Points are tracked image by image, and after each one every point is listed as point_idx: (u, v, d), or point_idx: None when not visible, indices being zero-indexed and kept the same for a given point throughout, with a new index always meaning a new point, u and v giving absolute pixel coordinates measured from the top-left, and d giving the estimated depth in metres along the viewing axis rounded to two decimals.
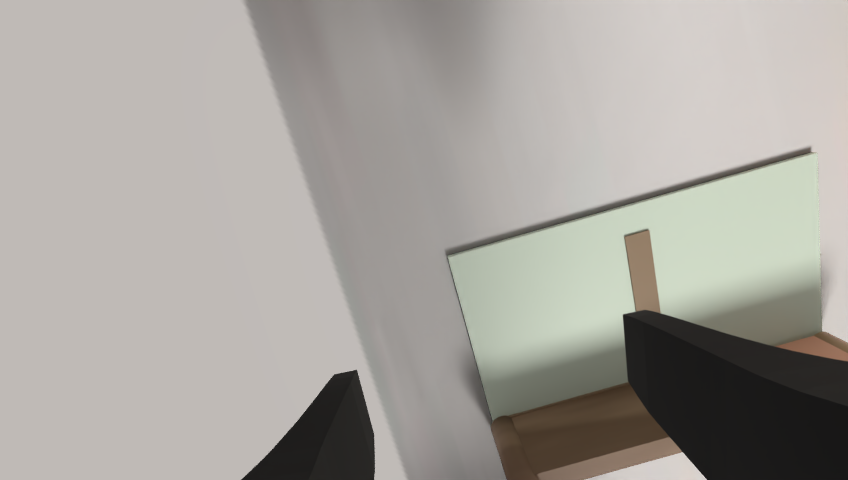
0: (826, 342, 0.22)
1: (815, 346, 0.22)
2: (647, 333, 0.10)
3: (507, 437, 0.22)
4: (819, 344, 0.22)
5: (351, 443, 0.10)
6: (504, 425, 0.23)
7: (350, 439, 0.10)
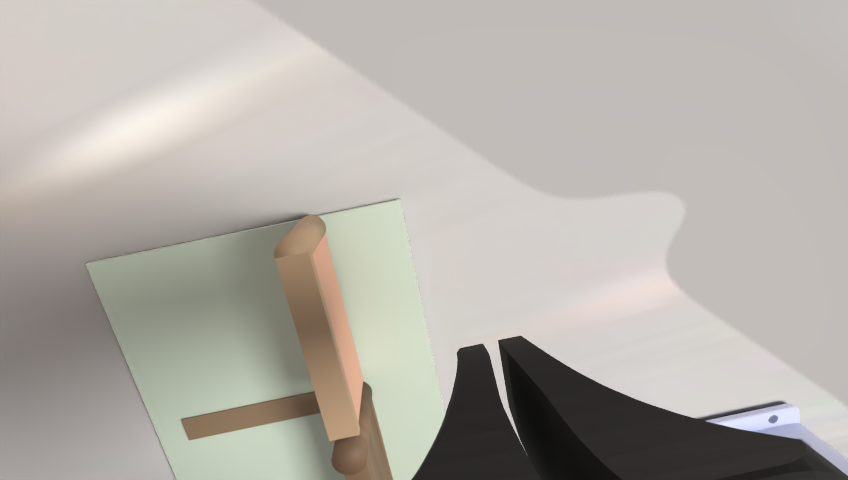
0: None
1: None
2: (509, 362, 0.10)
3: None
4: None
5: None
6: None
7: None
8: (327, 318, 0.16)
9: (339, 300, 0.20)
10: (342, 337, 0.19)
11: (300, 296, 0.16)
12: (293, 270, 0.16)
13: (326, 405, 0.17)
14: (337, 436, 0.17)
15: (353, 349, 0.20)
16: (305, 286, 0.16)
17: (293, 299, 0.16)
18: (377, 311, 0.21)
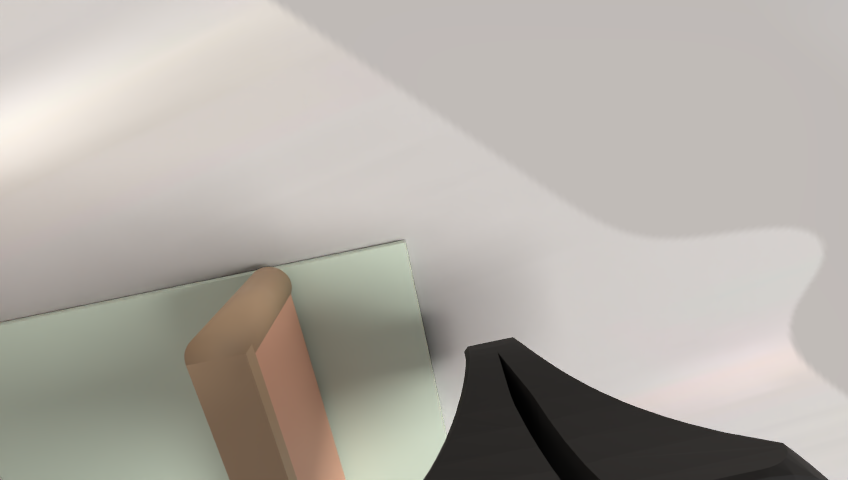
0: None
1: None
2: (501, 364, 0.10)
3: None
4: None
5: None
6: None
7: None
8: (282, 458, 0.10)
9: (312, 395, 0.13)
10: (315, 460, 0.12)
11: (233, 425, 0.09)
12: (220, 384, 0.09)
13: None
14: None
15: (335, 462, 0.14)
16: (242, 409, 0.09)
17: (222, 431, 0.09)
18: (370, 402, 0.14)
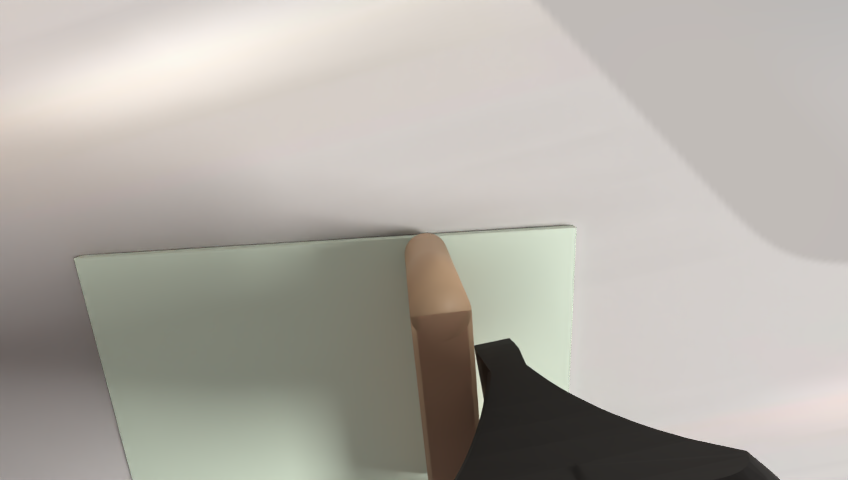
0: None
1: None
2: (482, 367, 0.10)
3: None
4: None
5: None
6: None
7: None
8: (478, 422, 0.09)
9: None
10: None
11: (441, 382, 0.09)
12: (438, 339, 0.09)
13: None
14: None
15: None
16: (454, 368, 0.09)
17: (429, 388, 0.09)
18: None
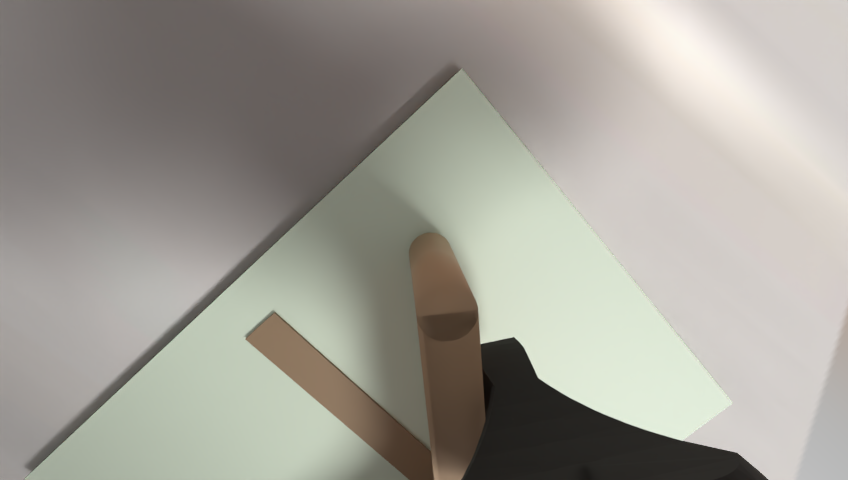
0: None
1: None
2: None
3: None
4: None
5: None
6: None
7: None
8: None
9: None
10: None
11: (447, 382, 0.09)
12: (445, 339, 0.09)
13: None
14: None
15: None
16: (460, 367, 0.09)
17: (435, 387, 0.09)
18: None
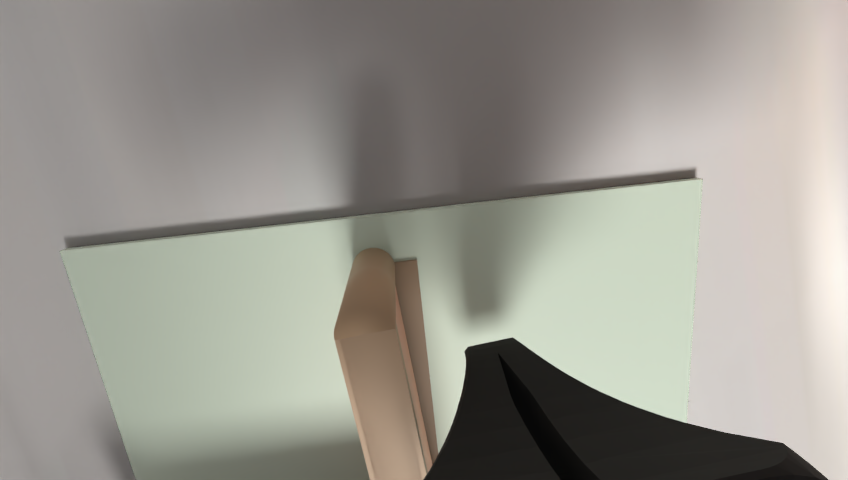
0: None
1: None
2: (501, 364, 0.10)
3: None
4: None
5: None
6: None
7: None
8: (418, 438, 0.09)
9: (413, 379, 0.13)
10: (422, 444, 0.12)
11: (375, 402, 0.09)
12: (366, 360, 0.09)
13: None
14: None
15: (427, 448, 0.14)
16: (385, 386, 0.09)
17: (363, 408, 0.09)
18: None
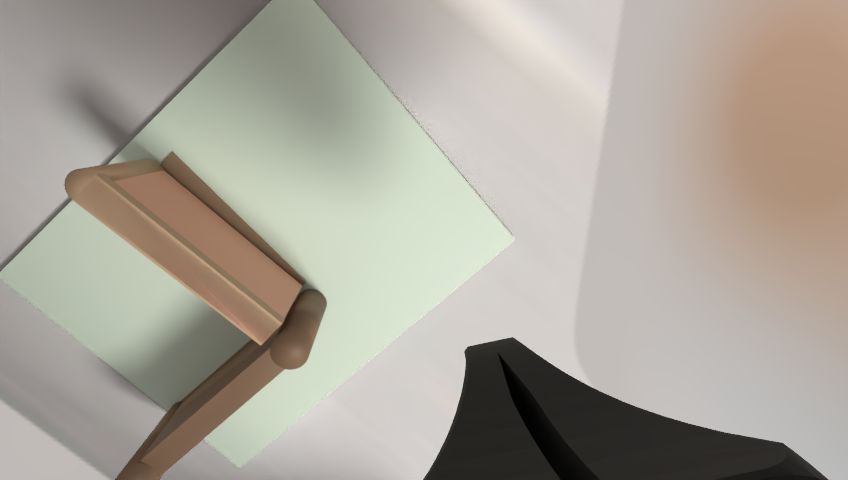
0: None
1: None
2: (500, 364, 0.10)
3: (155, 427, 0.20)
4: None
5: None
6: (166, 414, 0.21)
7: None
8: (164, 228, 0.15)
9: (215, 222, 0.18)
10: (227, 249, 0.17)
11: (122, 221, 0.15)
12: (97, 201, 0.15)
13: (230, 312, 0.16)
14: (264, 336, 0.16)
15: (266, 261, 0.19)
16: (120, 209, 0.15)
17: (120, 229, 0.15)
18: (403, 275, 0.20)
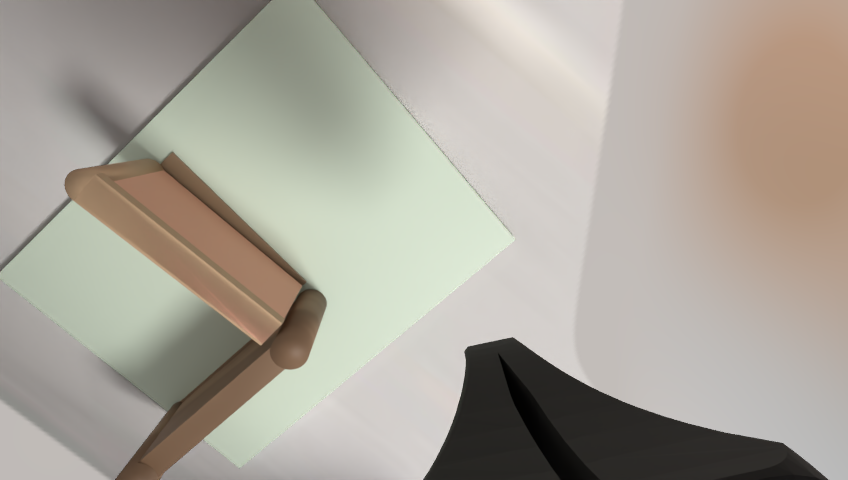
0: None
1: None
2: (500, 364, 0.10)
3: (155, 427, 0.20)
4: None
5: None
6: (166, 414, 0.21)
7: None
8: (164, 228, 0.15)
9: (215, 222, 0.18)
10: (227, 249, 0.17)
11: (122, 221, 0.15)
12: (97, 201, 0.15)
13: (230, 312, 0.16)
14: (264, 336, 0.16)
15: (266, 261, 0.19)
16: (120, 209, 0.15)
17: (120, 229, 0.15)
18: (403, 275, 0.20)
